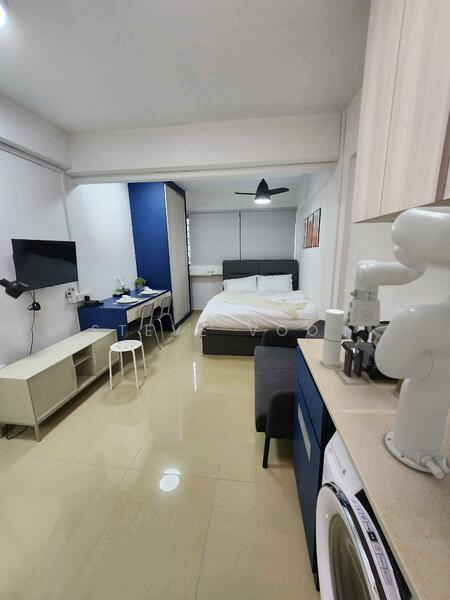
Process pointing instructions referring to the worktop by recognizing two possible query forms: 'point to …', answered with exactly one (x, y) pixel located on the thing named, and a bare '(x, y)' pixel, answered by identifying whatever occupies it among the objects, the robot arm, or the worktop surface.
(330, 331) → the cylindrical container
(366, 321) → the robot arm
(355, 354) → the lever
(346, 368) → the bracket
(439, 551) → the worktop surface
